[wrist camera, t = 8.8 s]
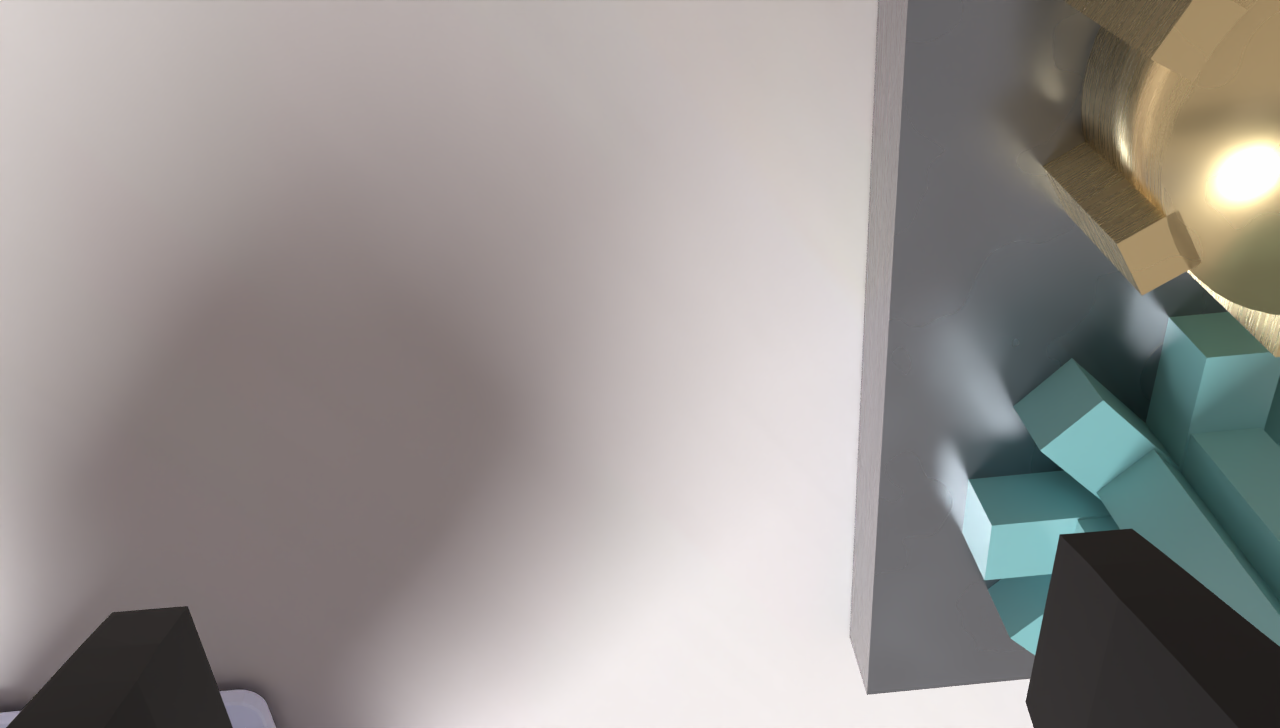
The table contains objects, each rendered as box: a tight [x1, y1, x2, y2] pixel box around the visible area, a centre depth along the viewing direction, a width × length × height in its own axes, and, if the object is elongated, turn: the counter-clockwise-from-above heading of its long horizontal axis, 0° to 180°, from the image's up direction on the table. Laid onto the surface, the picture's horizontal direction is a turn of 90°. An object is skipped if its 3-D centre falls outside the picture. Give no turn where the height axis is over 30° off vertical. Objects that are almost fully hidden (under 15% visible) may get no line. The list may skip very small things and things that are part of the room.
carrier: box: [850, 0, 1280, 695], centre depth 16 cm, size 16×10×5 cm, turn 4°
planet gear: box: [962, 312, 1280, 655], centre depth 17 cm, size 7×7×5 cm
